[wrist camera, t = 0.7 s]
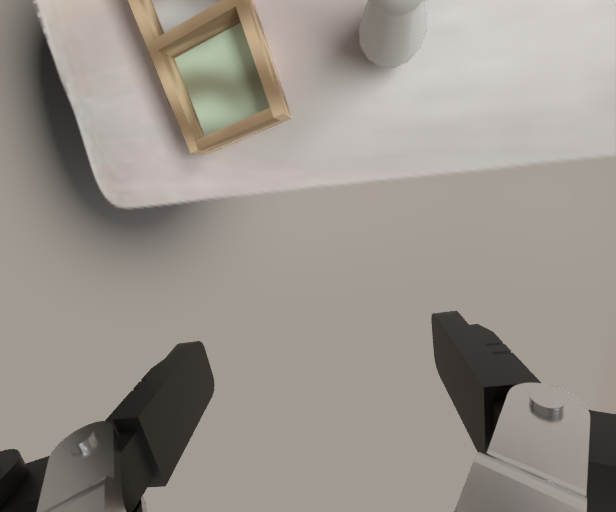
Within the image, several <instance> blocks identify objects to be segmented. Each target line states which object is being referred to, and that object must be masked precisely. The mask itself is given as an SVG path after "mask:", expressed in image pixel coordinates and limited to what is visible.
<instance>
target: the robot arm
mask: <svg viewBox="0 0 616 512" xmlns="http://www.w3.org/2000/svg"><path fill="white" fill-rule="evenodd" d="M432 334H433V347H434V358H435V363H436V367H437V370H438V373H439V375H440V378H441V379H442V381H443V384H444V386H445V387H446V390H447V392H448V394H449V395H450V397H451V399H452V402H453V404H454V406H455V407H456V410H457V411H458V414H459V415H460V418H461V420H462V421H463V424H464V425H465V428H466V429H467V432H468V433H469V435H470V437H471V439H472V441H473V443H474V445H475V447H476V449H477V451H478V453H477V455H476V456H475V459H474V461H473V464H472V466H471V469H470V472H469V474H468V477H467V479H466V482H465V485H464V487H463V490H462V493H461V495H460V498H459V500H458V503H457V506H456V508H455V511H454V512H616V414H610V413H603V412H597V411H591V410H588V409H587V407H586V406H585V405H584V404H583V403H582V401H580V400H579V399H578V398H577V397H575V396H574V395H572V394H571V393H568V392H567V391H565V390H562V389H560V388H558V387H555V386H551V385H547V384H543V383H541V382H540V381H539V380H538V379H537V378H536V377H535V376H534V375H533V374H532V373H531V372H530V371H529V370H528V368H527V367H526V366H525V365H524V364H523V363H522V362H521V361H520V360H519V359H518V358H517V357H516V356H515V355H514V354H513V353H511V350H510V349H509V348H508V347H507V346H506V345H505V344H503V342H502V341H501V340H500V339H499V338H498V337H497V336H496V335H495V334H494V332H492V331H490V330H488V329H486V328H484V327H482V326H480V325H478V324H474V325H469V324H468V323H467V322H466V321H465V320H464V319H463V317H462V316H461V315H460V314H459V313H458V312H457V311H450V312H442V313H434V314H432ZM213 392H214V378H213V375H212V371H211V368H210V364H209V361H208V358H207V354H206V351H205V348H204V346H203V344H202V342H200V341H196V342H187V343H180V344H177V345H176V346H175V348H174V349H173V350H172V351H171V352H170V353H169V355H168V356H167V357H166V358H165V359H164V360H163V361H161V362H160V363H158V364H157V365H156V366H154V367H153V368H151V369H150V371H149V372H148V373H147V374H146V375H145V376H144V377H143V378H142V381H141V382H139V383H138V384H137V385H136V386H135V387H134V390H133V391H131V392H130V393H129V394H128V395H127V397H126V398H125V399H124V400H123V401H122V402H121V403H120V404H119V406H118V407H117V408H116V409H115V410H114V411H113V413H112V414H111V415H110V416H109V417H108V418H107V419H106V420H105V421H100V422H95V423H92V424H89V425H86V426H84V427H82V428H80V429H78V430H77V431H75V432H73V433H72V434H70V435H69V436H68V437H66V438H65V439H64V440H63V441H62V442H60V443H59V444H58V445H57V447H56V448H55V449H54V450H53V451H52V453H51V455H50V456H48V457H45V458H42V459H39V460H36V461H33V462H30V463H26V464H25V462H24V460H23V458H22V457H21V455H20V453H19V451H18V450H15V449H9V450H4V451H1V452H0V512H147V509H146V503H145V500H144V498H143V494H144V492H145V490H146V489H147V487H160V486H166V484H167V482H168V481H169V479H170V477H171V475H172V473H173V471H174V469H175V467H176V465H177V463H178V461H179V459H180V457H181V455H182V453H183V452H184V450H185V448H186V446H187V444H188V442H189V440H190V438H191V436H192V434H193V432H194V430H195V428H196V427H197V425H198V423H199V421H200V419H201V417H202V415H203V413H204V411H205V409H206V407H207V405H208V403H209V401H210V399H211V398H212V395H213Z"/></svg>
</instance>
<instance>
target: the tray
mask: <svg viewBox="0 0 616 512" xmlns="http://www.w3.org/2000/svg"><path fill="white" fill-rule="evenodd" d="M128 2H129V5H130V7H131V9H132V12H133V14H134V17H135V19H136V22H137V24H138V27H139V29H140V31H141V34H142V36H143V39H144V41H145V44H146V46H147V49H148V51H149V53H150V56H151V58H152V61H153V63H154V66H155V68H156V70H157V73H158V75H159V78H160V80H161V83H162V85H163V88H164V90H165V92H166V95H167V97H168V98H167V99H168V103H169V105H170V106H171V108H172V110H173V112H174V114H175V117H176V119H177V122H178V124H179V127H180V129H181V132H182V134H183V136H184V139H185V141H186V144H187V146H188V149H189V151H190V154H208V153H211V152H213V151H215V150H218V149H220V148H223V147H225V146H227V145H230V144H232V143H234V142H237V141H239V140H241V139H244V138H246V137H249V136H251V135H253V134H256V133H258V132H260V131H263V130H265V129H267V128H270V127H272V126H275V125H277V124H279V123H282V122H284V121H286V120H289V119H291V118H292V117H291V114H290V111H289V108H288V105H287V102H286V99H285V96H284V93H283V90H282V86H281V83H280V80H279V77H278V74H277V71H276V68H275V65H274V62H273V59H272V56H271V53H270V50H269V47H268V44H267V41H266V38H265V35H264V32H263V29H262V26H261V23H260V20H259V17H258V14H257V11H256V8H255V5H254V2H253V0H128Z"/></svg>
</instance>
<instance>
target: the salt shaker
mask: <svg viewBox="0 0 616 512" xmlns="http://www.w3.org/2000/svg"><path fill="white" fill-rule="evenodd" d="M426 32H427V20H426V6H425V0H368V2H367V5H366V8H365V11H364V14H363V17H362V20H361V24H360V27H359V40H360V47H361V48H362V50H363V52H364V54H365V55H366V57H367V59H368V60H370V61H371V62H373V63H374V64H376V65H377V66H378V67H389V68H394V67H396V66H399V65H401V64H403V63H406V62H408V60H409V59H410V58H411V57H412V56H413V55H414V54H415V53H416V52H417V51H418V50H419V49H420V47H421V44H422V42H423V39H424V37H425V34H426Z"/></svg>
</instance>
